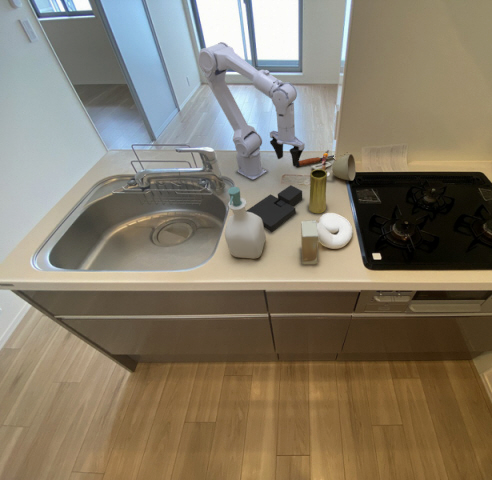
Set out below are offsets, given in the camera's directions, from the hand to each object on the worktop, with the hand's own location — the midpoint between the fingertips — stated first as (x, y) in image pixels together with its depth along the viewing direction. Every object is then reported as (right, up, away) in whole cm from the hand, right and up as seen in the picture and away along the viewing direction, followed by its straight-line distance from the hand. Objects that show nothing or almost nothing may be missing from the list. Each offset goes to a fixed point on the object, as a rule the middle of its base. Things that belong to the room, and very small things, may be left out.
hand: (287, 161), depth 103 cm
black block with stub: (0, -15, -2) cm, 16 cm away
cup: (+18, -1, +8) cm, 19 cm away
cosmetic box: (+7, -34, -19) cm, 40 cm away
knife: (+15, +5, +15) cm, 22 cm away
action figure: (+14, -2, +11) cm, 18 cm away
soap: (+13, +1, +15) cm, 19 cm away
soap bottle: (-11, -31, -17) cm, 37 cm away
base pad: (-5, -20, -6) cm, 22 cm away
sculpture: (+15, -27, -13) cm, 34 cm away
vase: (+11, -18, -4) cm, 21 cm away
